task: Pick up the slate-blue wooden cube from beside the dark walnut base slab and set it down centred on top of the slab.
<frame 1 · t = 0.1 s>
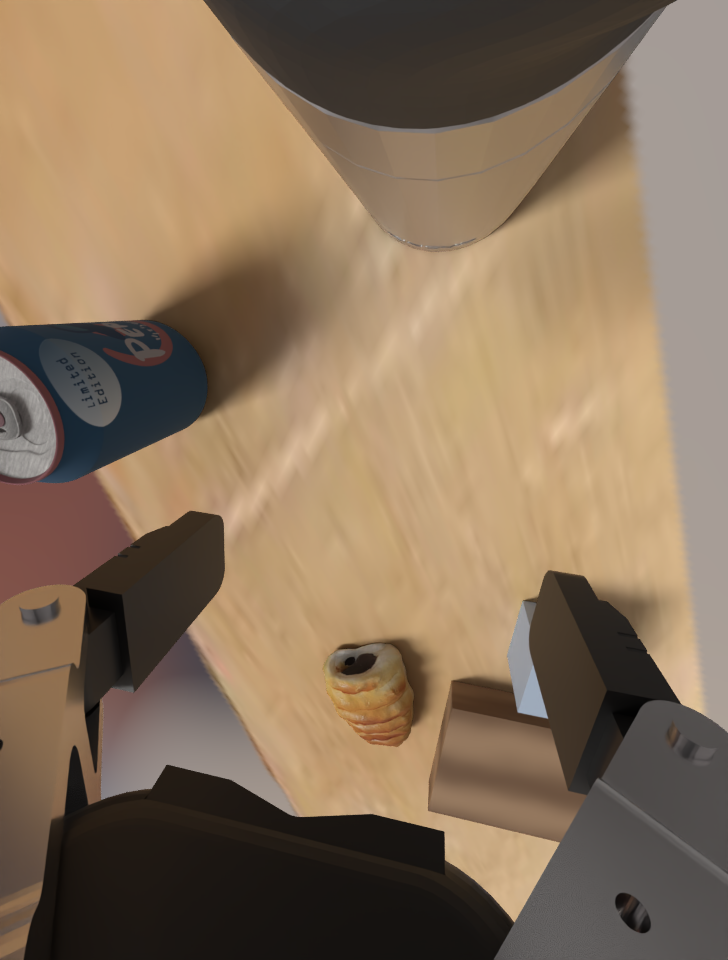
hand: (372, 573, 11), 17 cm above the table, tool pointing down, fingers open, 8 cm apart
pastry: (376, 677, 35), on the table
walnut base: (512, 744, 36), on the table
soda can: (169, 375, 28), on the table
blue cube: (550, 634, 31), on the table
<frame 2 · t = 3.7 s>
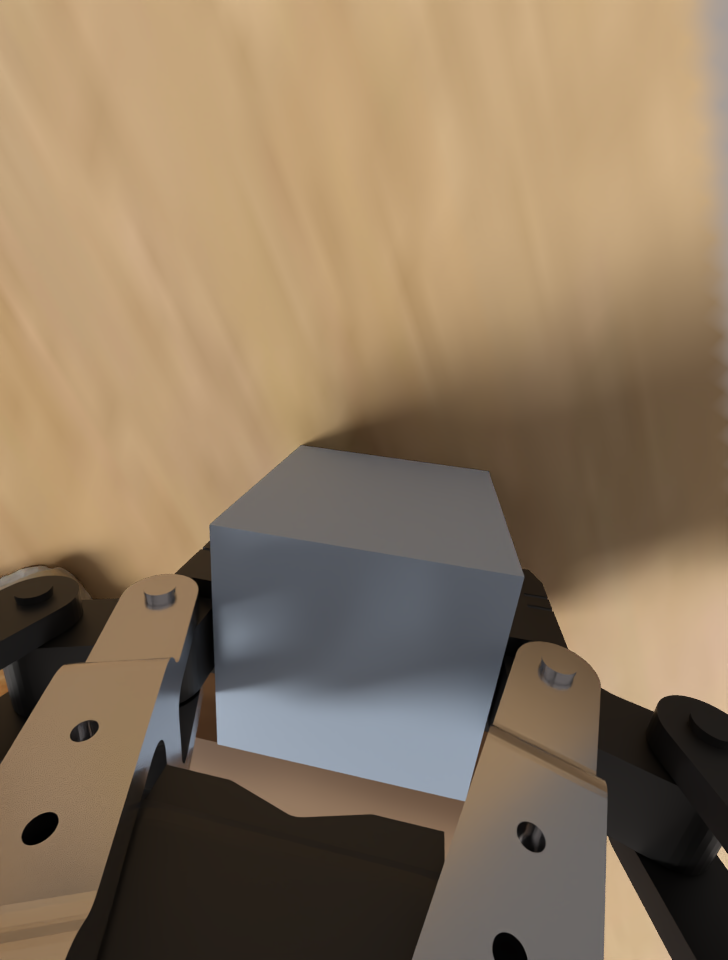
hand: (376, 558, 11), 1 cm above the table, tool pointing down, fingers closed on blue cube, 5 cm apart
pastry: (71, 650, 16), on the table
walnut base: (349, 804, 17), on the table
blue cube: (382, 541, 12), on the table, touching gripper
when the fingers open (5 cm above the table, at t = 8.6 s): blue cube drops 2 cm, resting on walnut base.
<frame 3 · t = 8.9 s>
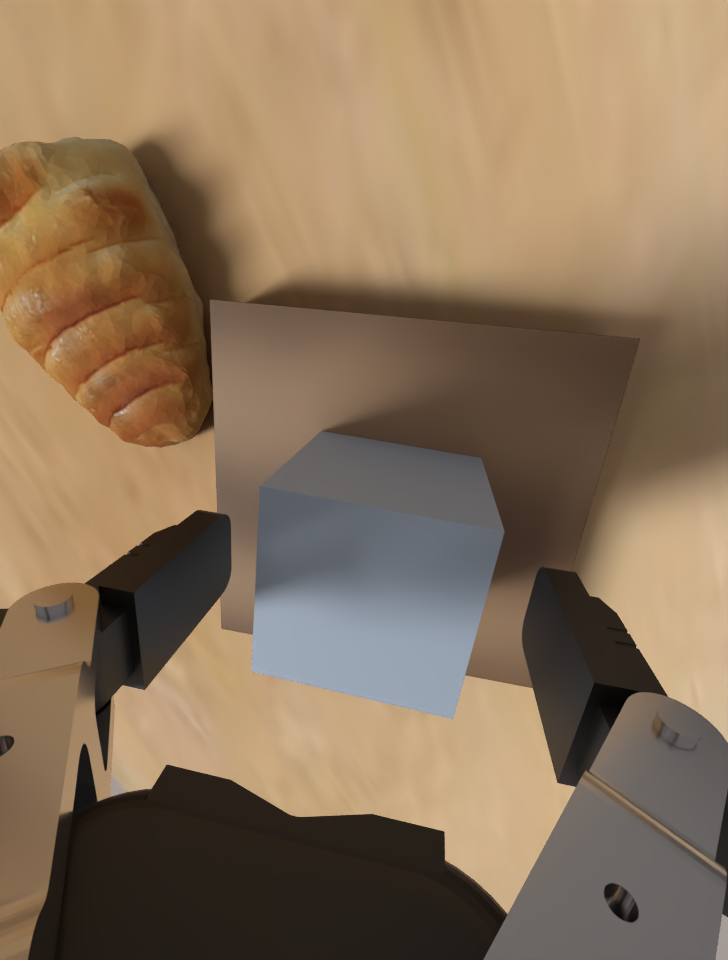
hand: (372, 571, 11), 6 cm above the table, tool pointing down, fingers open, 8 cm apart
pastry: (135, 299, 16), on the table
walnut base: (397, 481, 17), on the table, touching blue cube
blue cube: (387, 516, 14), point 2 cm above the table, touching walnut base
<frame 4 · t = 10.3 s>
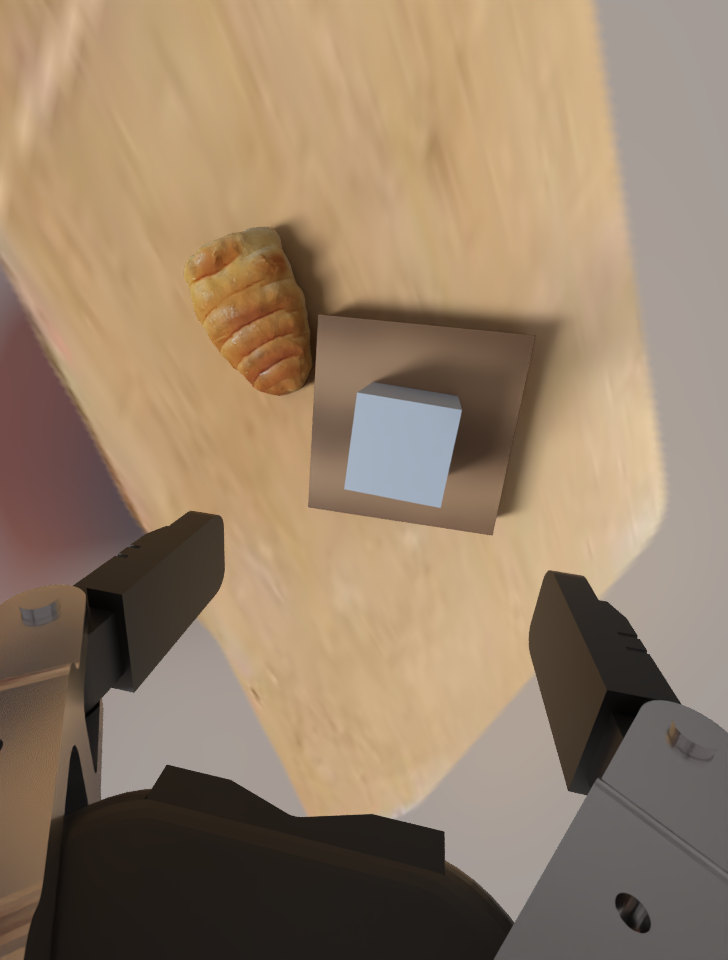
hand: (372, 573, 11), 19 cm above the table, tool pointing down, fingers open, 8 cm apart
pastry: (265, 309, 28), on the table
walnut base: (412, 420, 29), on the table
blue cube: (407, 430, 26), point 2 cm above the table
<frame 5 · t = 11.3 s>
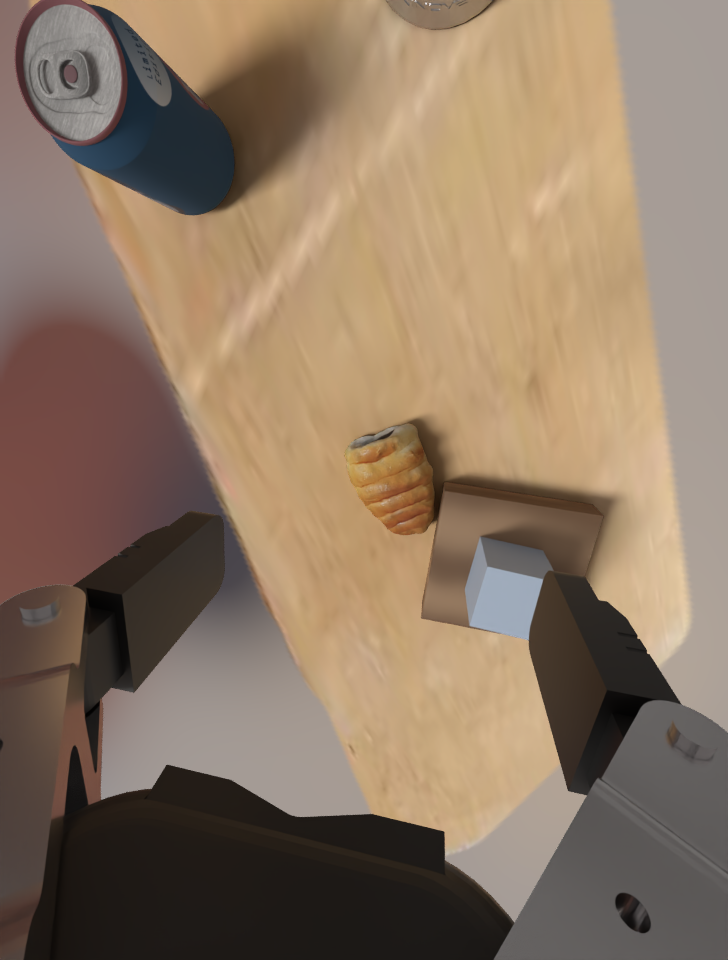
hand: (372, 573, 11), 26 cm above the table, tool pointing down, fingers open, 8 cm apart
pastry: (396, 470, 37), on the table
walnut base: (500, 554, 38), on the table, touching blue cube
soda can: (199, 167, 32), on the table
blue cube: (502, 570, 35), point 2 cm above the table, touching walnut base
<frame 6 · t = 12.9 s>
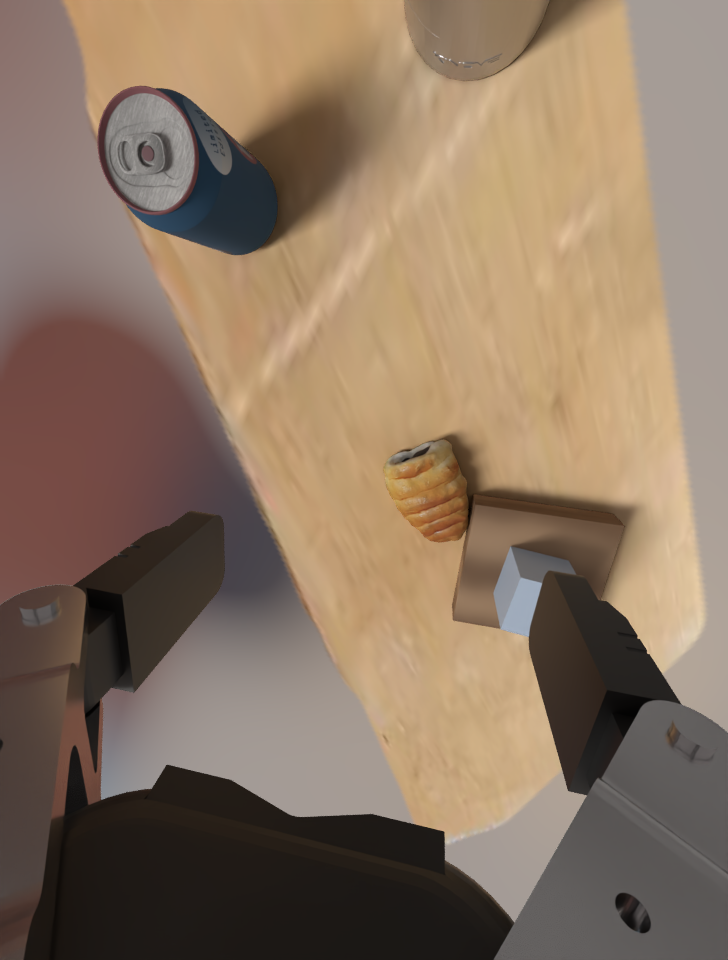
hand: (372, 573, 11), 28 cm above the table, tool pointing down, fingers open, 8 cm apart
pastry: (430, 482, 40), on the table
walnut base: (526, 559, 41), on the table, touching blue cube
soda can: (242, 209, 34), on the table
blue cube: (529, 577, 38), point 2 cm above the table, touching walnut base
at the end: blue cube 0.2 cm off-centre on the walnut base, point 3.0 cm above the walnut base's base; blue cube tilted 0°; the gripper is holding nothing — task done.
